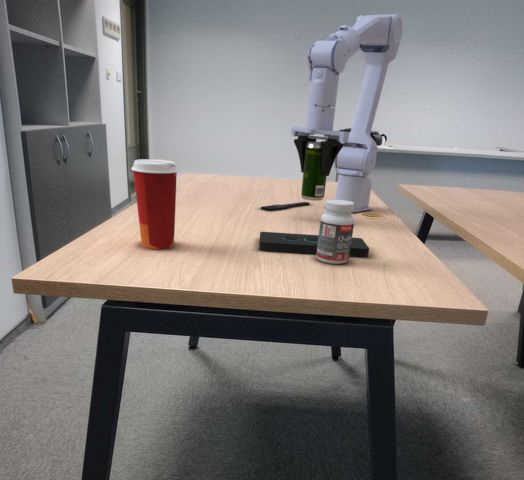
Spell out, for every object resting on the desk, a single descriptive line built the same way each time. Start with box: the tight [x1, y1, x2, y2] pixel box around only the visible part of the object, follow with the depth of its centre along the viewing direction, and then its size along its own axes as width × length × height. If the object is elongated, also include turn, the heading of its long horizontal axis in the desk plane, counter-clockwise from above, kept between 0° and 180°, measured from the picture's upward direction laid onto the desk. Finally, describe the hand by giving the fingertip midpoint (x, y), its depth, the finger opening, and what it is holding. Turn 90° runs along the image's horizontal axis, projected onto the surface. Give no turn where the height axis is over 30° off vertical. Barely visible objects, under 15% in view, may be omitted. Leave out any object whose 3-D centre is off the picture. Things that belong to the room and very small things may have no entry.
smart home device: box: [258, 231, 370, 258], centre depth 89 cm, size 8×2×20 cm
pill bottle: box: [315, 199, 355, 265], centre depth 81 cm, size 6×6×10 cm
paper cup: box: [131, 158, 179, 250], centre depth 81 cm, size 8×8×14 cm
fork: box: [260, 201, 310, 212], centre depth 124 cm, size 17×3×1 cm, turn 136°
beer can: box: [300, 141, 328, 202], centre depth 107 cm, size 5×5×12 cm
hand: (314, 174), depth 107 cm, fingers closed on beer can, 5 cm apart
